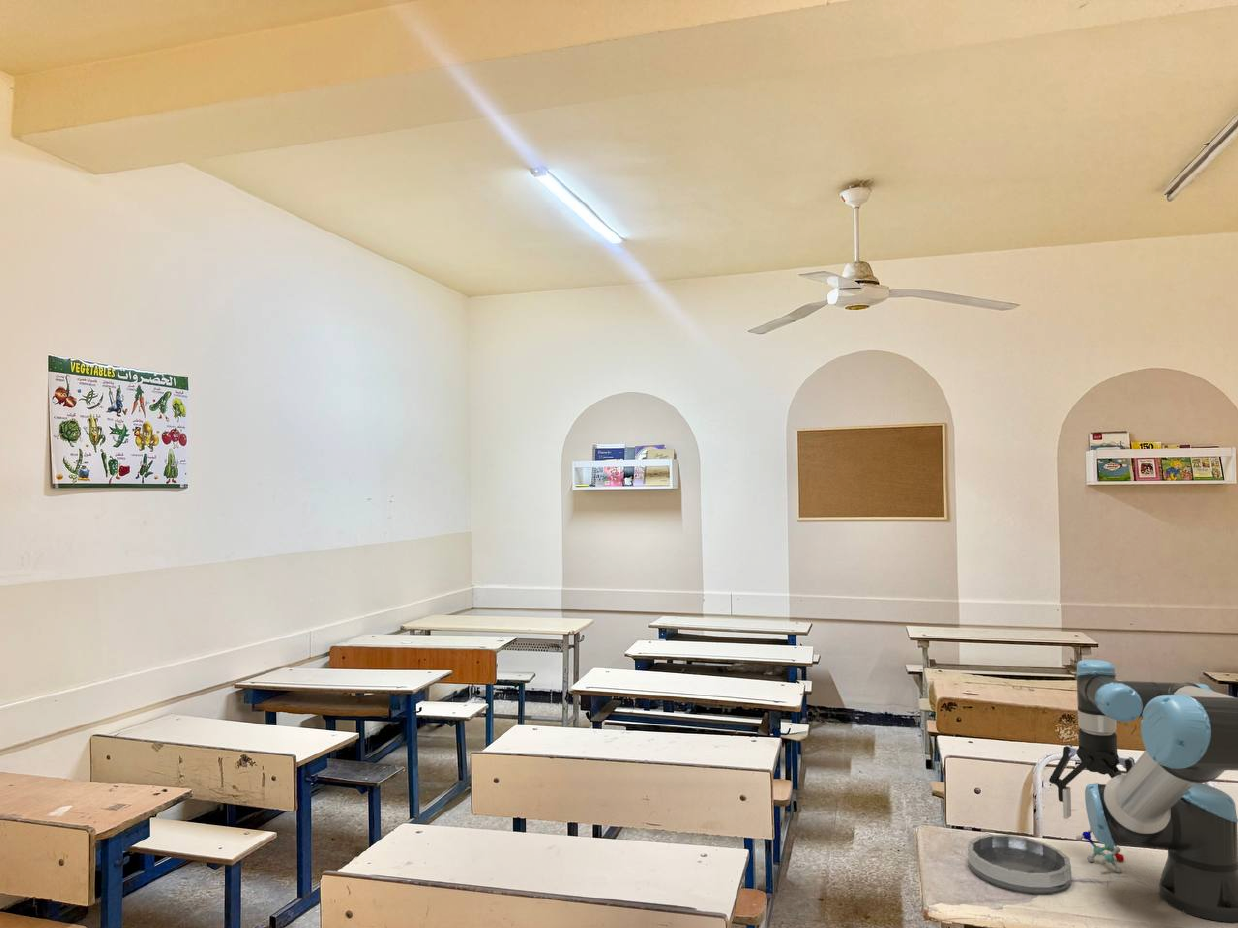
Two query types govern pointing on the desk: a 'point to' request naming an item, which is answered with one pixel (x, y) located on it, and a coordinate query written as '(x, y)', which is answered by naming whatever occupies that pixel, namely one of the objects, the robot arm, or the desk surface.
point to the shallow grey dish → (1019, 864)
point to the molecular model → (1099, 851)
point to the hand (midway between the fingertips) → (1100, 825)
